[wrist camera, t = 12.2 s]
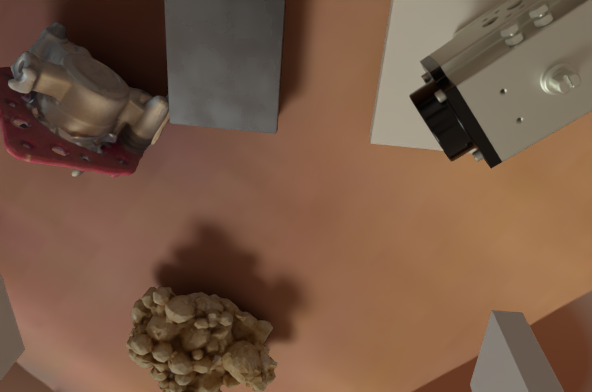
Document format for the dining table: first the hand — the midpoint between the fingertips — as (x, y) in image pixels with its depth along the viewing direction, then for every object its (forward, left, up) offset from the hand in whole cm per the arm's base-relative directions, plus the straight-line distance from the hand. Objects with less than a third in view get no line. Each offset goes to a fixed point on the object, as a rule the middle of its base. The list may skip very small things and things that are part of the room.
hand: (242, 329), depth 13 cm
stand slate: (-2, -5, -26) cm, 27 cm away
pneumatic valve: (-6, +12, -23) cm, 27 cm away
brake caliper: (+2, -16, -26) cm, 31 cm away
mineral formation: (+24, -8, -26) cm, 36 cm away
